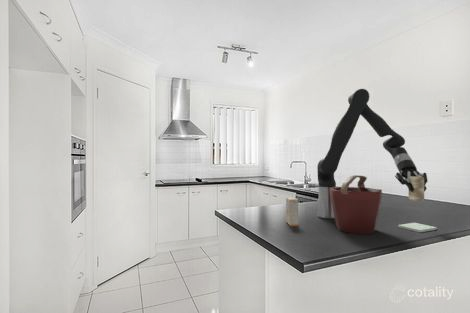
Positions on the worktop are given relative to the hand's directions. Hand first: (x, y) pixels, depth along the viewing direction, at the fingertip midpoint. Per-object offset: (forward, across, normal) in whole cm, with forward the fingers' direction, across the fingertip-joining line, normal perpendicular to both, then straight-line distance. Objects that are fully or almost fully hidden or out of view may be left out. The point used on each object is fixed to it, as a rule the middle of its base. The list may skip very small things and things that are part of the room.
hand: (418, 190), depth 120 cm
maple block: (+2, 0, +5) cm, 5 cm away
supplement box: (+11, -58, +15) cm, 60 cm away
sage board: (+12, 0, +14) cm, 18 cm away
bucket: (+15, -28, +11) cm, 34 cm away
